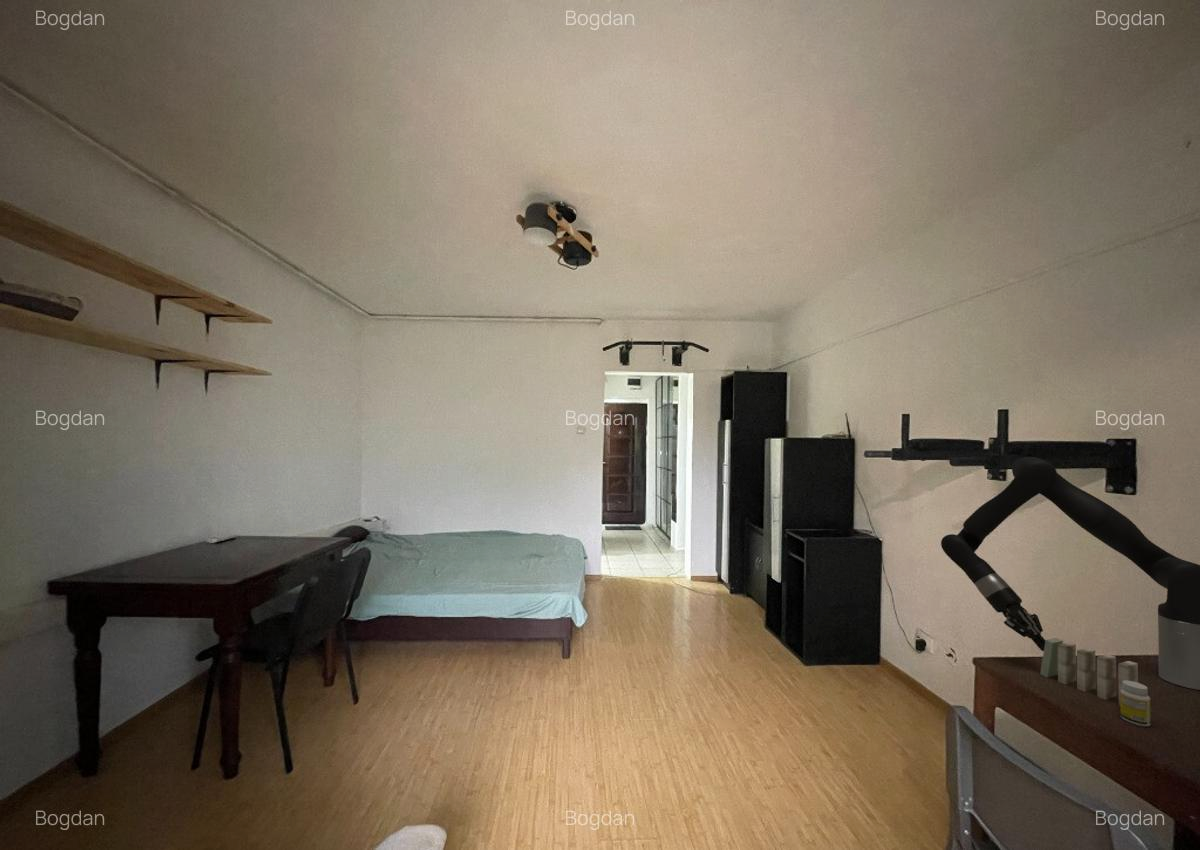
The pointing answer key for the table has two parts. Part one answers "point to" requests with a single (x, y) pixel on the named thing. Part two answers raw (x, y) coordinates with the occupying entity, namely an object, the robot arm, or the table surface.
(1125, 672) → the domino
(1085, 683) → the domino
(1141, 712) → the supplement bottle
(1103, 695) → the domino
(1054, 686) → the table surface
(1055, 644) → the domino
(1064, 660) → the domino
